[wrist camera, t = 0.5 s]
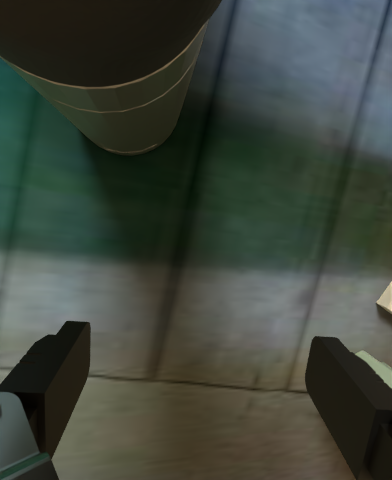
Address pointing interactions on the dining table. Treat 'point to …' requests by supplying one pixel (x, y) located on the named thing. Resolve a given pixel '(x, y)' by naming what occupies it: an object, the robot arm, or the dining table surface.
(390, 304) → the base plate
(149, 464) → the dining table surface
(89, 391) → the dining table surface
